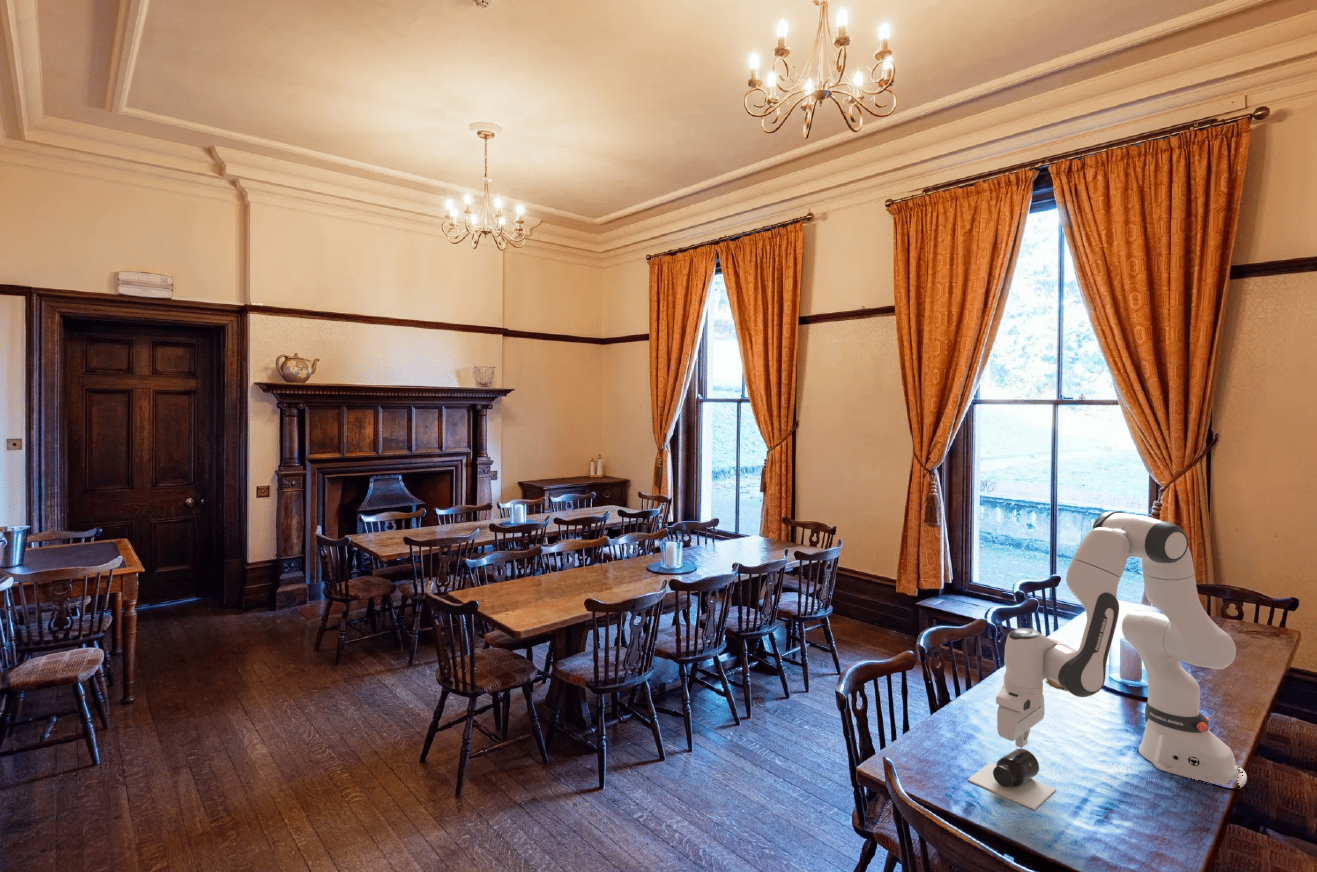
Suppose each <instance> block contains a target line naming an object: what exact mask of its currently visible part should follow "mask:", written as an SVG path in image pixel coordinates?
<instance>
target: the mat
mask: <svg viewBox="0 0 1317 872" xmlns="http://www.w3.org/2000/svg"><path fill="white" fill-rule="evenodd" d="M996 765H997V763H995V762H991V761H990V762H988V763H987V764H986V765H985V766H983V767H982V768H980V769H979V770H978V771H976V772H975V773H974V774H973V775H971V776H970V777H969V778H967V781H968V782H969V783H973V785H974V784H975V785H976V786H978V787H981V788H983V789H986V790H988V791H990V792H992V793H994V794H997V795H999V796H1002V797H1003V798H1005V799H1009V800H1011V801H1013V802H1014V803H1017V804H1020V805H1021V806H1025V808H1028V809H1031V810H1034V811H1036V810H1037V809H1038V808H1039V807H1040V806H1041V805H1043V803H1044V802H1046V801H1047V800H1048V799H1049V798H1050V797H1051V796H1052V795H1053V794H1054V793H1055V792H1056V791H1057V788H1055V787H1052V786H1050V785H1049V784H1048V785H1047V784H1045V783H1042V782H1041V781H1039V780H1036V779H1033V778H1031V779H1029V780H1028V781H1026V782H1025V783H1023V784H1022V785H1020V786H1017V787H1013V786H1009V787H1004V786H1001V785H1000V784H998V783H997V781H996V780H995V778H994V776H993V770H994V768H995V767H996Z"/></svg>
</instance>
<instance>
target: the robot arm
mask: <svg viewBox="0 0 1317 872" xmlns="http://www.w3.org/2000/svg"><path fill="white" fill-rule="evenodd" d="M1130 557H1133V558H1138V559H1141V566H1142V567H1141V568H1142V576H1143V586H1144V594H1145V597H1146V599H1147V600H1148V602H1149V603H1150V604H1151V605H1152V606H1154V607H1155V608H1156V609H1158V610H1159V611H1160V612H1161V613H1160V612H1157V611H1153V610H1145V609H1143V610H1140V609H1139V610H1138V609H1133V610H1131V611H1129V612H1128V613H1127V614H1126V615H1125V616H1124V617H1123V619H1122V622H1121V632H1122V635H1123V637H1124V638H1125V640H1126V641H1127V642H1128V643H1129V644H1130V645H1131V646H1132V647H1133V648H1134V649H1135V652H1136V653H1137V654H1138V655H1139V657H1140V659H1141V661H1142V663H1143V666H1144V668H1145V671H1146V676H1147V701H1145V705H1144V718H1145V719H1144V720H1145V727H1144V732H1143V738H1142V739H1141V742H1140V745H1139V748H1138V752H1139V754H1140V755H1141V757H1143V758H1144V759H1146V760H1148V761H1149V762H1151V763H1152V764H1153V765H1154V766H1155V768H1157V769H1158V770H1160V771H1162V772H1163V771H1164V772H1165V773H1169V774H1172V775H1173V774H1174V775H1176V776H1180V777H1184V778H1188V779H1191V778H1192V779H1191V780H1194V779H1195V781H1198V780H1202V781H1205V782H1209V783H1218V784H1222V785H1227V783H1230V782H1229V781H1230V780H1238V781H1237V783H1239V784H1238V785H1239V786H1240V788H1239V789H1241V788H1243V787H1244V786H1245V785H1246V784H1247V782H1248V781H1247V780H1248V775H1247V773H1246V771H1245V770H1244V769H1243V768H1242V767H1240V768H1238V769H1240V772H1243V773H1239V774H1238V773H1237V772H1238V771H1237V770H1236V769H1237V767H1239V766H1238V765H1237V764H1236V759H1235V755H1234V753H1233V750H1232V749H1231V748H1230V747H1229V746H1228V745H1227V744H1226V743H1225V742H1224V741H1222V740H1221V739H1220V738H1219V737H1217V736H1216V735H1215V734H1214V733H1213V732H1211V731H1210V730H1209V725H1210V724H1209V723H1210V717H1209V716H1206V717H1205V715H1203V714H1202V713H1201V712H1200V702H1201V701H1200V698H1201V697H1200V696H1201V687H1200V685H1199V684H1200V683H1198V680H1196V679H1195V678H1194V677H1193V675H1191V674H1190V673H1189V672H1188V671H1186V669H1185V668H1184V667H1183V666H1182V664H1181V662H1183V663H1186V664H1189V665H1193V666H1196V667H1200V668H1201V667H1202V668H1207V669H1208V668H1209V669H1215V670H1216V669H1217V670H1223V669H1226V668H1227V667H1229V666H1230V665H1231V664H1232V663H1233V662H1234V660H1235V658H1236V655H1237V648H1236V643H1235V642H1234V640H1233V637H1232V636H1231V635H1229V634H1228V633H1227V632H1226V631H1224V630H1223V629H1222V628H1221V627H1220V626H1218V624H1216V623H1215V622H1214V621H1213V620H1212V618H1211V617H1210V616H1209V614H1208V612H1207V611H1206V610H1205V609H1204V607H1203V605H1202V603H1201V600H1200V598H1199V593H1198V587H1197V582H1196V574H1195V573H1196V572H1195V567H1194V566H1195V565H1194V561H1193V557H1192V552H1191V550H1190V547H1189V540H1188V536H1187V535H1186V533H1185V531H1184V530H1183V528H1182V527H1180V526H1178V525H1177V524H1174V523H1172V522H1169V521H1166V520H1160V519H1157V518H1154V517H1151V516H1148V515H1147V516H1146V515H1144V514H1143V515H1142V514H1135V513H1127V512H1122V511H1112V510H1111V511H1106V512H1105V511H1104V512H1103V513H1101V514H1100V515H1099V516H1098V517H1097V518H1096V519H1095V521H1094V523H1093V525H1092V529H1091V530H1089V532H1088V533H1087V534H1086V536H1084V538H1083V539H1082V541H1081V542H1080V544H1079V546H1078V547H1077V549H1076V551H1075V553H1074V555H1073V557H1072V560H1071V561H1070V564H1069V566H1068V569H1067V572H1066V577H1065V581H1066V586H1067V587H1068V589H1069V591H1070V592H1071V594H1072V595H1073V596H1074V597H1075V599H1077V601H1078V602H1079V603H1080V604H1081V605H1082V607H1083V609H1084V611H1085V613H1086V623H1085V628H1084V631H1083V634H1082V637H1081V642H1080V645H1079V648H1078V649H1077V650H1076V649H1074V648H1072V647H1070V646H1068V645H1067V644H1064V643H1062V642H1061V641H1059V640H1055V639H1052V638H1050V637H1047V636H1046V635H1043V634H1042V633H1041V632H1040V631H1039V630H1036V629H1034V628H1028V627H1027V628H1026V627H1018V628H1015V629H1012V630H1011V631H1010V632H1009V633H1008V635H1007V637H1006V641H1005V646H1004V660H1003V661H1004V666H1005V672H1004V675H1003V684H1002V686H1001V688H1000V691H999V692H998V693H997V695H996V696H995V703H996V704H997V705H998V707H997V713H996V722H997V723H996V724H997V725H996V726H997V727H996V728H997V734H998V735H999V737H1001V738H1003V739H1005V740H1008V741H1011V742H1014V741H1015V746H1016V747H1018V748H1019V749H1023V748H1024V747H1025V746H1027V744H1028V739H1029V736H1030V732H1031V729H1032V728H1033V727H1034V726H1036V725H1037V724H1038V723H1039V722H1041V721H1042V720H1043V719H1044V718H1045V709H1046V708H1045V696H1044V690H1043V689H1044V682H1043V681H1044V680H1045V679H1046V680H1047V679H1051V680H1052V681H1054V682H1056V683H1058V684H1059V685H1061V686H1062V687H1063V688H1062V689H1065V690H1066V691H1067V692H1069V693H1070V694H1072V695H1073V696H1075V697H1077V698H1087V697H1091V696H1093V695H1095V694H1097V693H1098V692H1100V691H1101V690H1102V688H1103V687H1104V685H1105V683H1106V672H1107V662H1108V657H1109V653H1110V650H1111V646H1112V643H1113V640H1114V635H1115V631H1116V628H1117V624H1118V619H1119V614H1120V604H1119V601H1118V599H1117V595H1118V586H1119V584H1120V581H1121V578H1122V576H1123V573H1124V571H1125V569H1126V568H1125V567H1126V564H1127V561H1128V559H1129V558H1130ZM1180 661H1181V662H1180ZM1237 775H1238V776H1237ZM1242 775H1243V776H1242ZM1236 777H1239V778H1236ZM1234 778H1235V779H1234ZM1205 782H1204V783H1205ZM1209 783H1208V784H1209ZM1228 785H1229V784H1228Z"/></svg>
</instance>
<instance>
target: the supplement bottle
mask: <svg viewBox="0 0 1317 872" xmlns="http://www.w3.org/2000/svg"><path fill="white" fill-rule="evenodd" d="M996 764H997V765H996V767H995V768H994V770H993V776H994V778H995V780H996V781H997V783H998V784H1000V785H1001V786H1004V787H1009V786H1013V787H1017V786H1020V785H1022V784H1023V783H1025V782H1026V781H1028V780H1029V779H1033V778H1034V777H1036V776H1037V775H1038V773H1039V771H1040V763H1039V762H1038V759H1037V758H1036V756H1035V755H1034V754H1033V753H1032V752H1031V751H1029V750H1028V749H1025V748H1016V749H1015V750H1013V751H1011V752H1009V753H1007V754H1006V755H1003V757H1001V758H999V759H998V760H997V762H996Z"/></svg>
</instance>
